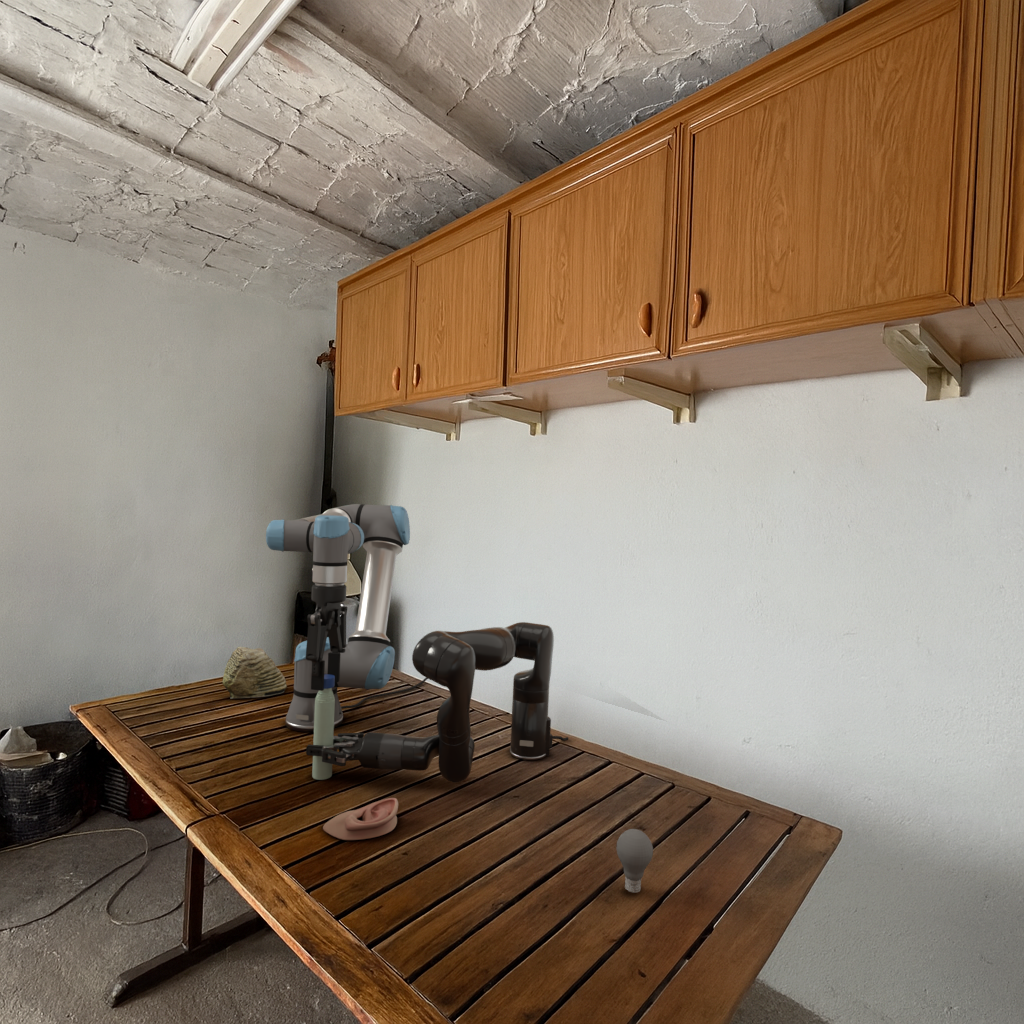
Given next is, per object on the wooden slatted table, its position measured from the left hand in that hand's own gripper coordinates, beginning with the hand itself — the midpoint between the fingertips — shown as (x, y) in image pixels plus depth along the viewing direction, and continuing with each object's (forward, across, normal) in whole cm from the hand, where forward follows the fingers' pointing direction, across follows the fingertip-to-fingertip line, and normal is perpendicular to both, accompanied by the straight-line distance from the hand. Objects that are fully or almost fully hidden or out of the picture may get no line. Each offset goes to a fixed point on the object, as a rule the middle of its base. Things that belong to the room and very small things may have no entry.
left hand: (325, 685), depth 143 cm
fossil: (+21, -44, -49) cm, 69 cm away
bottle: (+21, 0, 0) cm, 21 cm away
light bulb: (+21, +22, +70) cm, 77 cm away
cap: (-2, 0, 0) cm, 2 cm away
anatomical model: (+21, +18, +18) cm, 33 cm away
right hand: (+14, 0, -3) cm, 14 cm away
